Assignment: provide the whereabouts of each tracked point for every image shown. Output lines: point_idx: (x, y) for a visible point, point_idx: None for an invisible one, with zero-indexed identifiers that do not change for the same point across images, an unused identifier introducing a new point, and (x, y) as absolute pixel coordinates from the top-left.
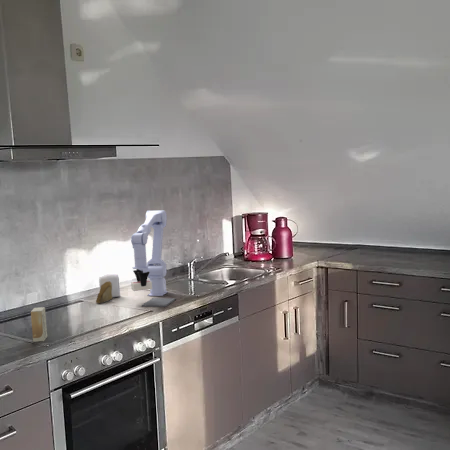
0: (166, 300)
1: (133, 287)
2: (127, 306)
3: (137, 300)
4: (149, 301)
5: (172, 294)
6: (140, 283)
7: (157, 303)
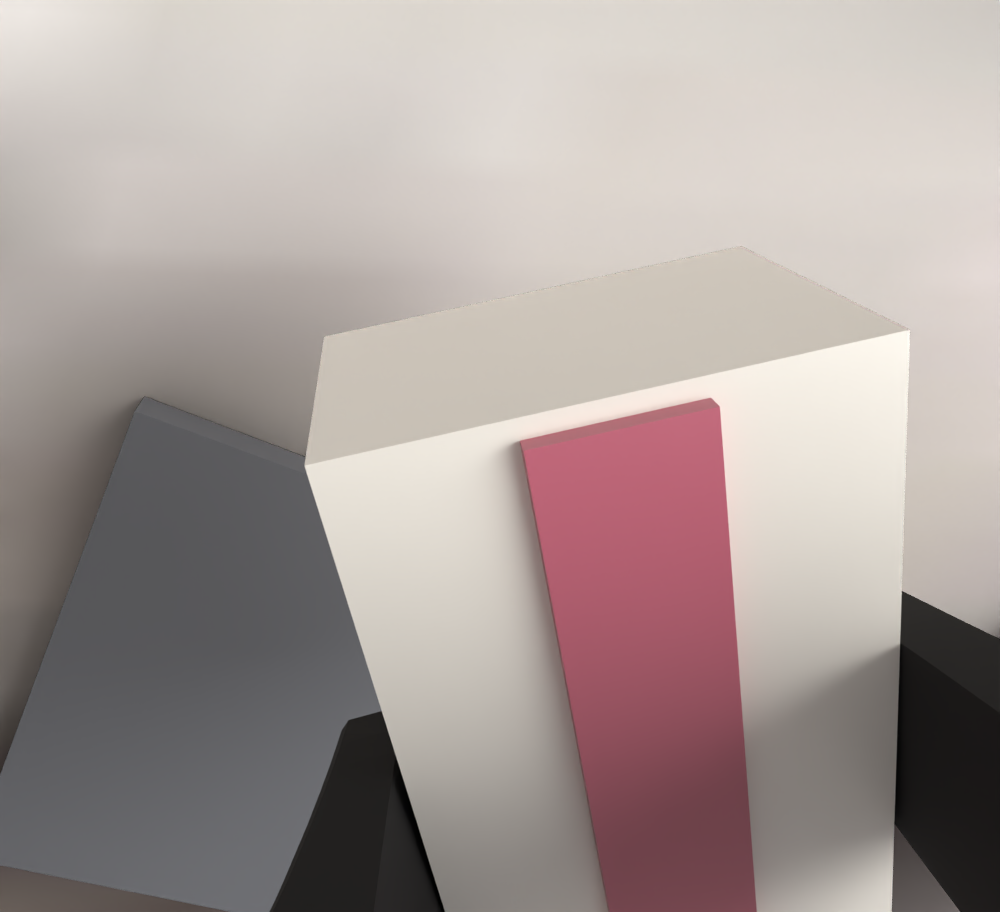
0: None
1: (396, 369)
2: (271, 20)
3: None
4: None
5: (939, 887)
6: (402, 765)
7: (179, 726)
